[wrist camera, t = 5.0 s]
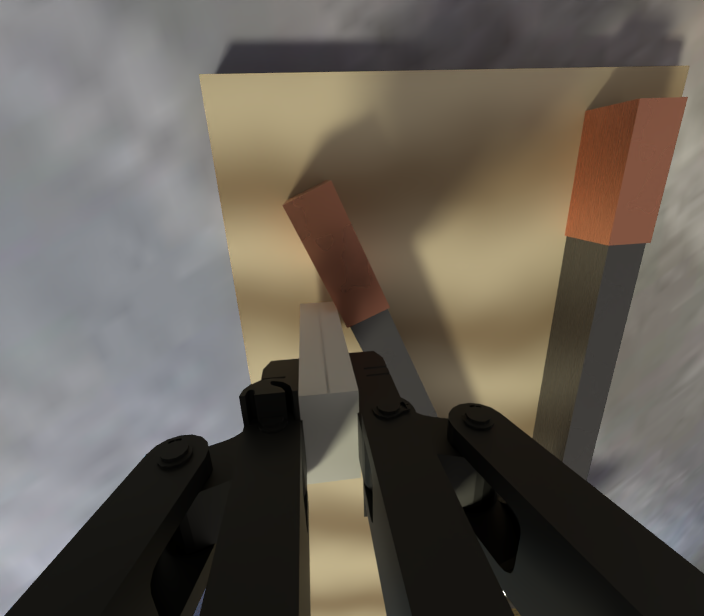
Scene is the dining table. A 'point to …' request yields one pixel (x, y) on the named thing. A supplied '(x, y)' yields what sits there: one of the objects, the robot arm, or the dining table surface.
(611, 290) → the tong fixed
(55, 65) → the dining table surface
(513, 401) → the board
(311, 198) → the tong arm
